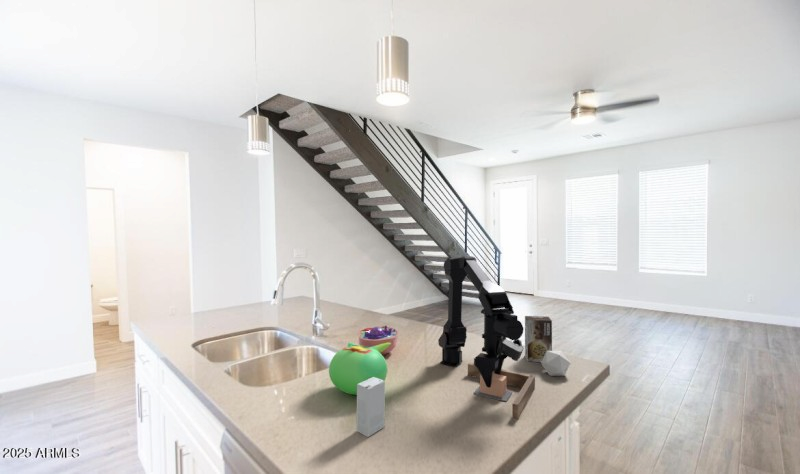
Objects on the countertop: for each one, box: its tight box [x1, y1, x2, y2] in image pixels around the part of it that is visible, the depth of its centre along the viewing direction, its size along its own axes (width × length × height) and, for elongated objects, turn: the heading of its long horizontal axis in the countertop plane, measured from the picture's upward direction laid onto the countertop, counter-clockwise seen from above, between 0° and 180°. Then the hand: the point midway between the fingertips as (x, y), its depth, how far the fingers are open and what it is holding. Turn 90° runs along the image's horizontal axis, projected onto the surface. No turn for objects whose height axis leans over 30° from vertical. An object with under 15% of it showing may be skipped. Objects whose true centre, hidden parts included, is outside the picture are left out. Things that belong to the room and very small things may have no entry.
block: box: [479, 374, 507, 398], centre depth 111 cm, size 4×7×5 cm, turn 59°
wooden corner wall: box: [467, 362, 536, 421], centre depth 111 cm, size 22×22×4 cm
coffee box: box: [524, 315, 553, 363], centre depth 140 cm, size 9×6×16 cm
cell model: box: [357, 325, 399, 356], centre depth 148 cm, size 17×20×11 cm
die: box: [540, 350, 571, 377], centre depth 126 cm, size 8×9×10 cm
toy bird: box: [328, 341, 391, 396], centre depth 112 cm, size 18×17×15 cm
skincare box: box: [356, 377, 386, 438], centre depth 91 cm, size 6×4×12 cm
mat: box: [473, 385, 514, 403], centre depth 111 cm, size 10×7×1 cm
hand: (493, 381), depth 111 cm, fingers open, 9 cm apart
